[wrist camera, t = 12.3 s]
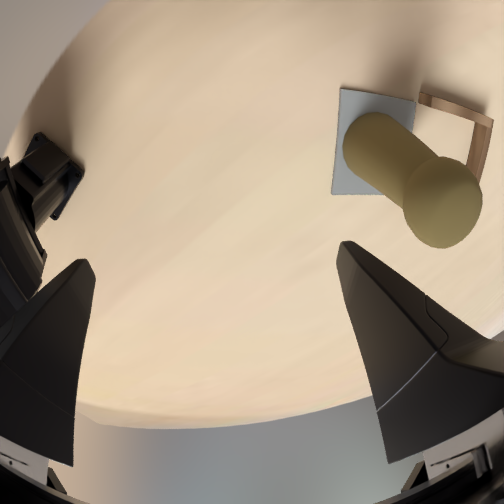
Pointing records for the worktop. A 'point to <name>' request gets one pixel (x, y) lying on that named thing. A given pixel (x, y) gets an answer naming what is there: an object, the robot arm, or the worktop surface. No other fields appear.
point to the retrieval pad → (349, 111)
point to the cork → (414, 179)
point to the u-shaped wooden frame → (479, 135)
